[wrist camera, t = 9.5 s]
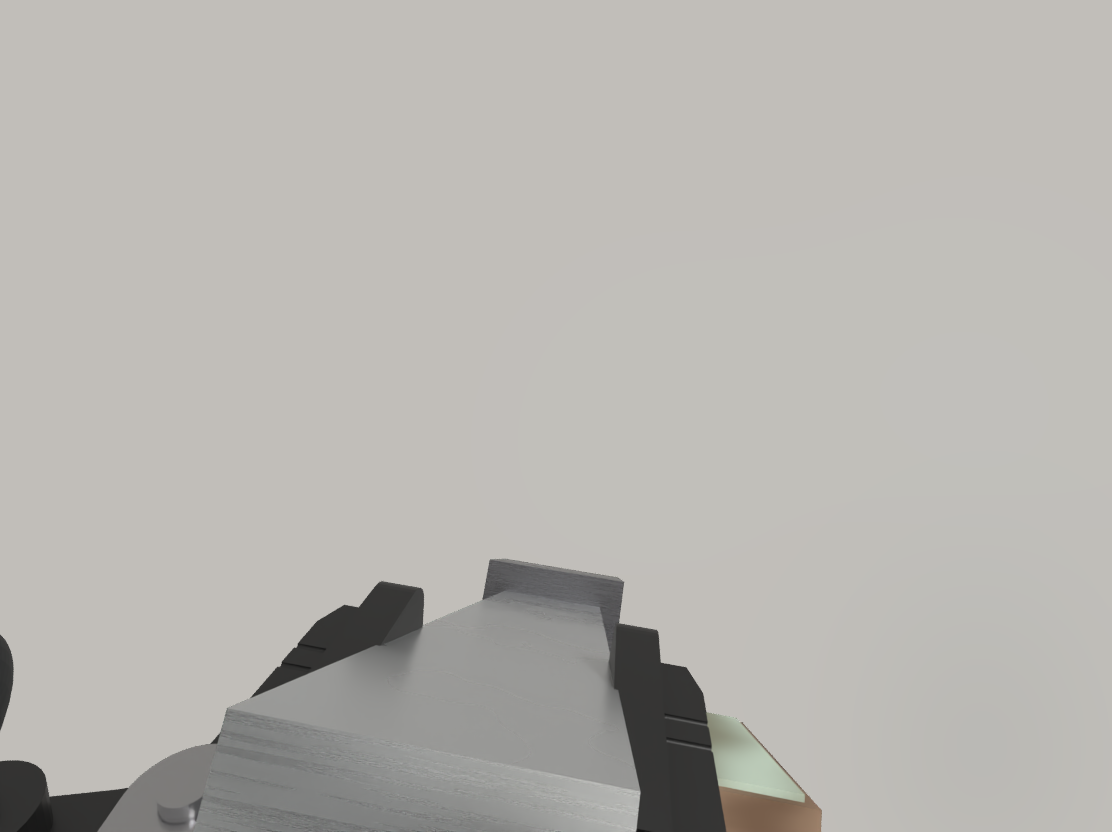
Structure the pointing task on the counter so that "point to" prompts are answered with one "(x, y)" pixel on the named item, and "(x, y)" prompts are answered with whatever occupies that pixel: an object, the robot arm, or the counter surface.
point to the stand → (756, 784)
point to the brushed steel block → (445, 725)
